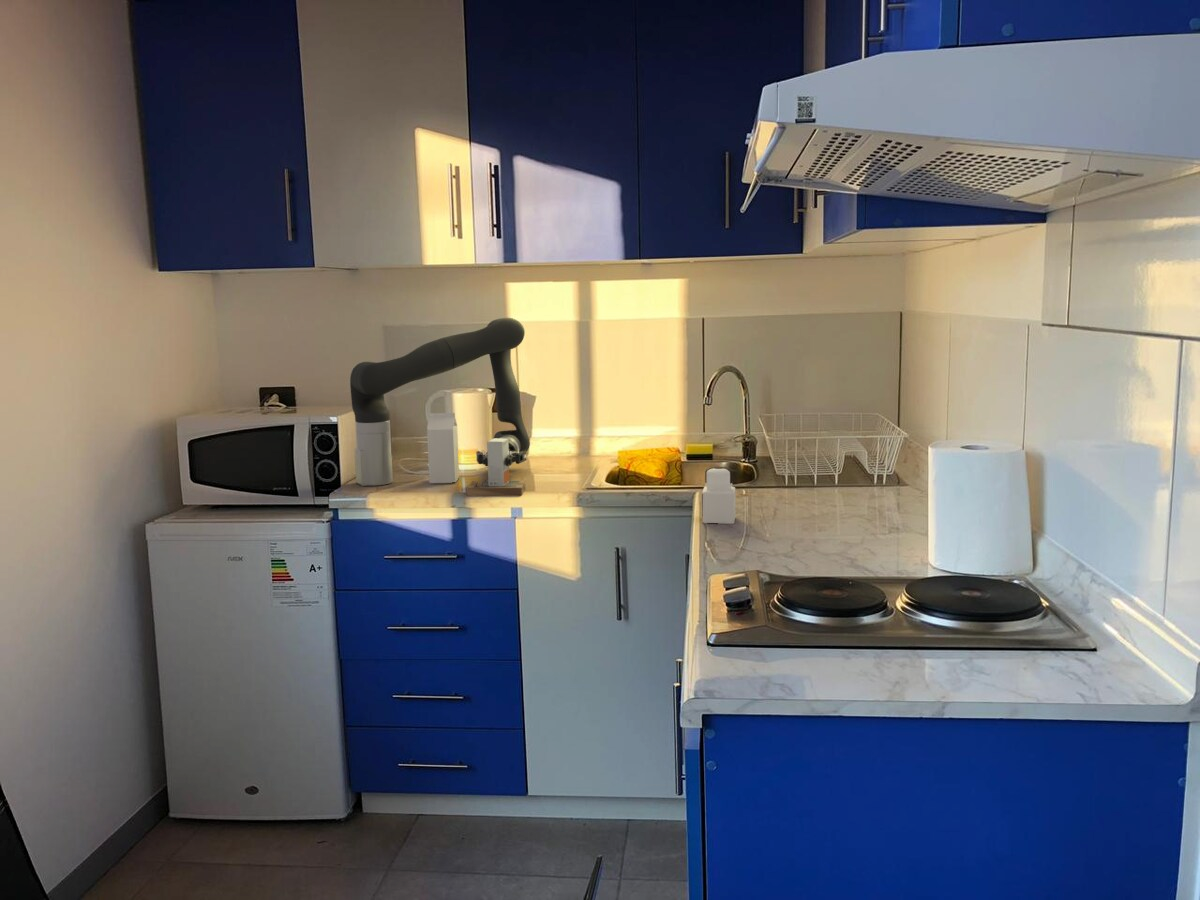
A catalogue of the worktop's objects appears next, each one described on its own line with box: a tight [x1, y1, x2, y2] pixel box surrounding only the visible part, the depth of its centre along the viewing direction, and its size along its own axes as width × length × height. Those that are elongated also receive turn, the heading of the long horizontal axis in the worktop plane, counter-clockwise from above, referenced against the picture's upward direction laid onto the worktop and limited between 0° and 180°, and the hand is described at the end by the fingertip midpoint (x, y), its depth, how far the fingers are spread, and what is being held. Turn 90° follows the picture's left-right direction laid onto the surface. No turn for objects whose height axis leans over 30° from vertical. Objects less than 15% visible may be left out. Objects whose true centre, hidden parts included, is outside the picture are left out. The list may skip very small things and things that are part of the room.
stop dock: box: [466, 480, 526, 497], centre depth 278 cm, size 18×14×2 cm
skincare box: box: [486, 437, 510, 487], centre depth 276 cm, size 6×4×12 cm
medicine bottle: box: [701, 466, 736, 525], centre depth 235 cm, size 7×7×12 cm
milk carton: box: [426, 412, 460, 484], centre depth 288 cm, size 7×7×19 cm
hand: (496, 462), depth 274 cm, fingers closed on skincare box, 5 cm apart
